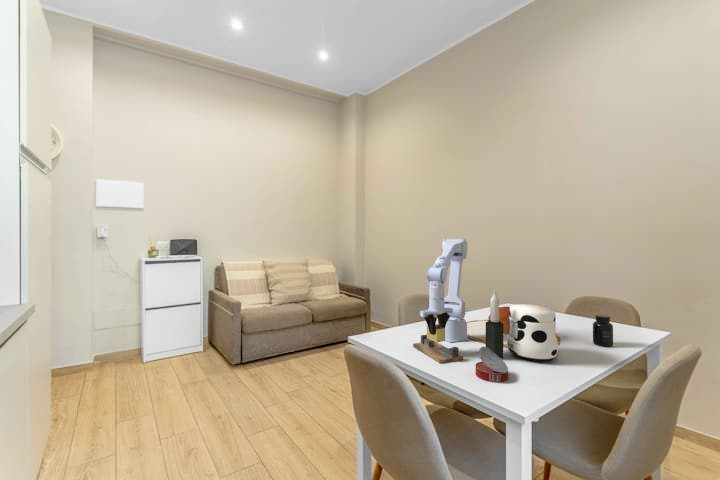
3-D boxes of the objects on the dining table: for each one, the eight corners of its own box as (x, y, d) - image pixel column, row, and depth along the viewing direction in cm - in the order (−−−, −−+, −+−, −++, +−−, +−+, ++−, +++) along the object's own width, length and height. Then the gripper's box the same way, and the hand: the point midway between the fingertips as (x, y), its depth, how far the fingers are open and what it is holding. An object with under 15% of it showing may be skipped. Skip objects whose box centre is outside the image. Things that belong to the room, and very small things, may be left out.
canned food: (493, 384, 111) (506, 357, 112) (508, 395, 101) (521, 365, 102) (464, 368, 111) (476, 341, 112) (475, 378, 101) (489, 348, 102)
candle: (495, 360, 120) (495, 291, 120) (484, 355, 124) (484, 289, 124) (504, 357, 122) (505, 290, 122) (493, 353, 127) (493, 288, 126)
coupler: (445, 340, 126) (445, 326, 126) (437, 342, 124) (437, 327, 124) (434, 336, 131) (434, 322, 131) (426, 338, 130) (426, 324, 129)
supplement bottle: (614, 344, 137) (614, 315, 137) (612, 348, 132) (612, 319, 132) (594, 341, 142) (594, 313, 141) (591, 344, 137) (591, 316, 136)
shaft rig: (434, 343, 138) (434, 333, 138) (463, 359, 120) (463, 347, 120) (413, 346, 135) (413, 335, 135) (439, 363, 117) (439, 351, 117)
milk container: (563, 355, 125) (564, 308, 124) (550, 368, 112) (550, 316, 112) (516, 344, 137) (516, 301, 136) (499, 355, 124) (499, 308, 124)
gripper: (444, 295, 134) (444, 328, 134) (415, 298, 127) (415, 333, 128) (456, 298, 128) (456, 332, 128) (426, 301, 121) (426, 338, 121)
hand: (436, 333), depth 127 cm, fingers closed on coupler, 4 cm apart
